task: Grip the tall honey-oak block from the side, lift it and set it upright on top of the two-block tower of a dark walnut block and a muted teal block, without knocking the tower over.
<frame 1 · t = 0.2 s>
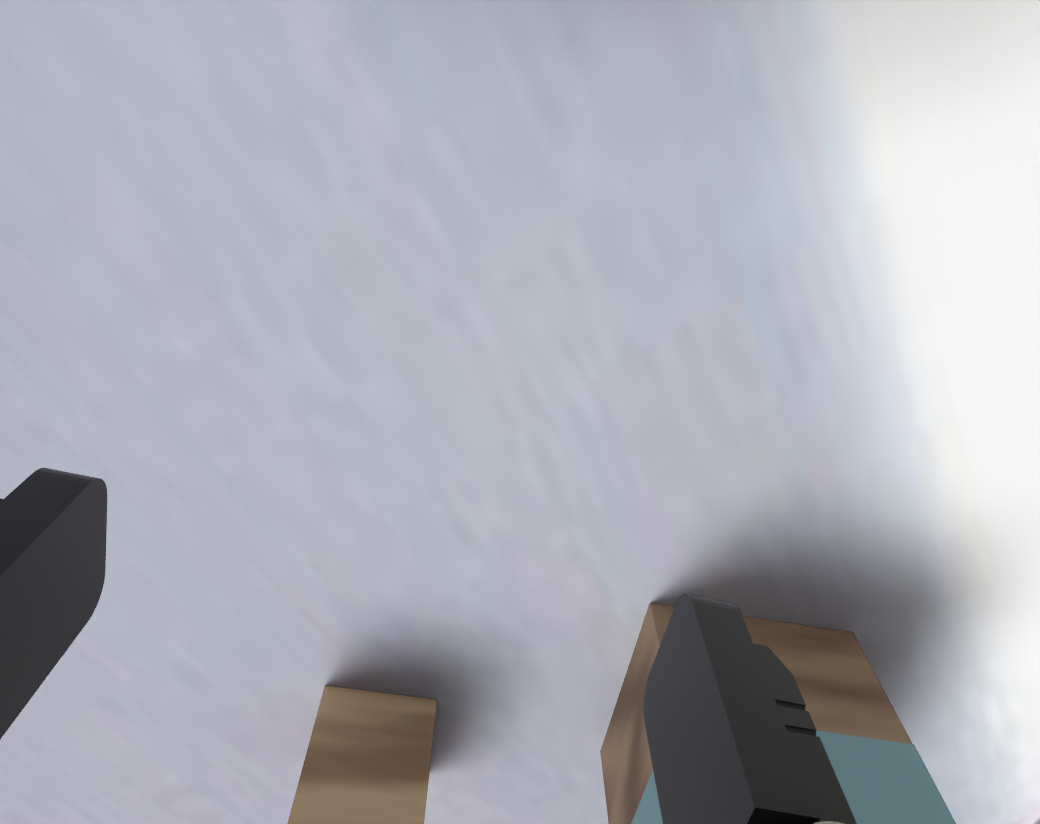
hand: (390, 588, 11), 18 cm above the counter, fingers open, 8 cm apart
teal top block: (756, 809, 31), point 6 cm above the counter, touching walnut base block
walnut base block: (720, 692, 37), on the counter, touching teal top block
oak block: (375, 732, 38), on the counter
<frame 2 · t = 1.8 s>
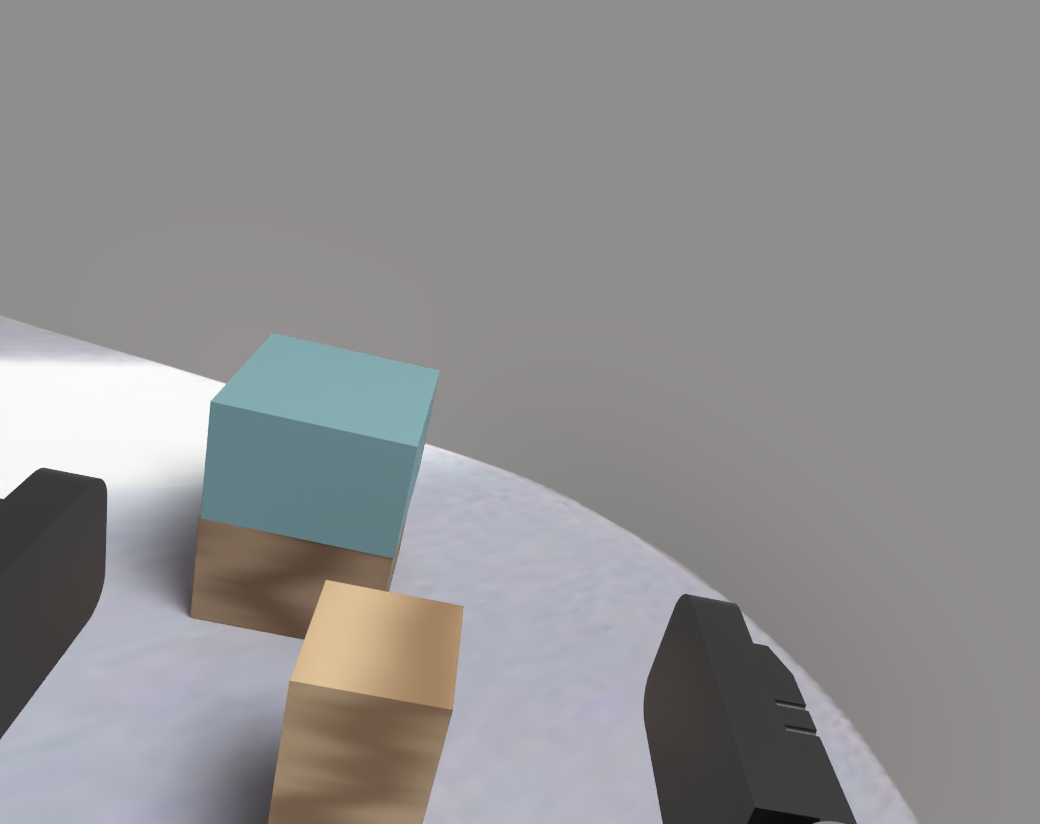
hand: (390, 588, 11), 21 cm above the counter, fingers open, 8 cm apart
teal top block: (321, 489, 42), point 6 cm above the counter, touching walnut base block
walnut base block: (305, 582, 44), on the counter, touching teal top block
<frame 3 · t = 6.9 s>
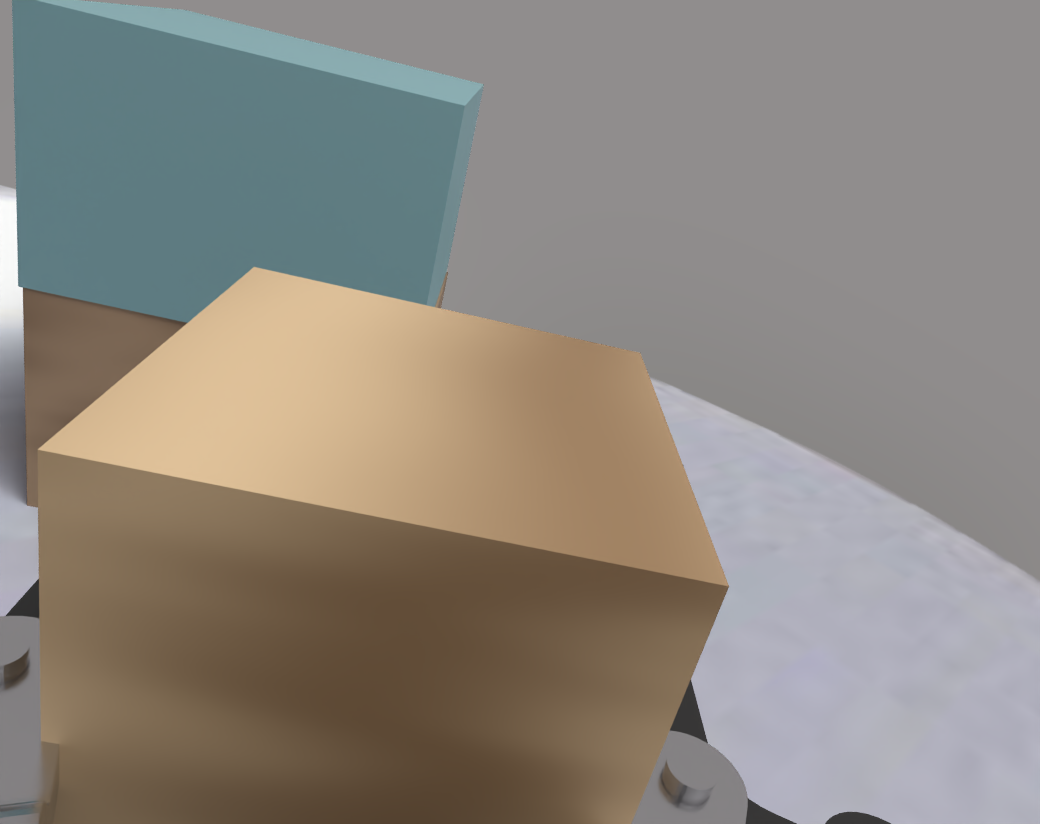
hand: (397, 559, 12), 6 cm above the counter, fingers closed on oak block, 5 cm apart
teal top block: (274, 278, 23), point 6 cm above the counter
walnut base block: (256, 462, 25), on the counter
when the fingers open (19 cm above the counter, at t = 13.1 s): oak block stays where it is, resting on teal top block.
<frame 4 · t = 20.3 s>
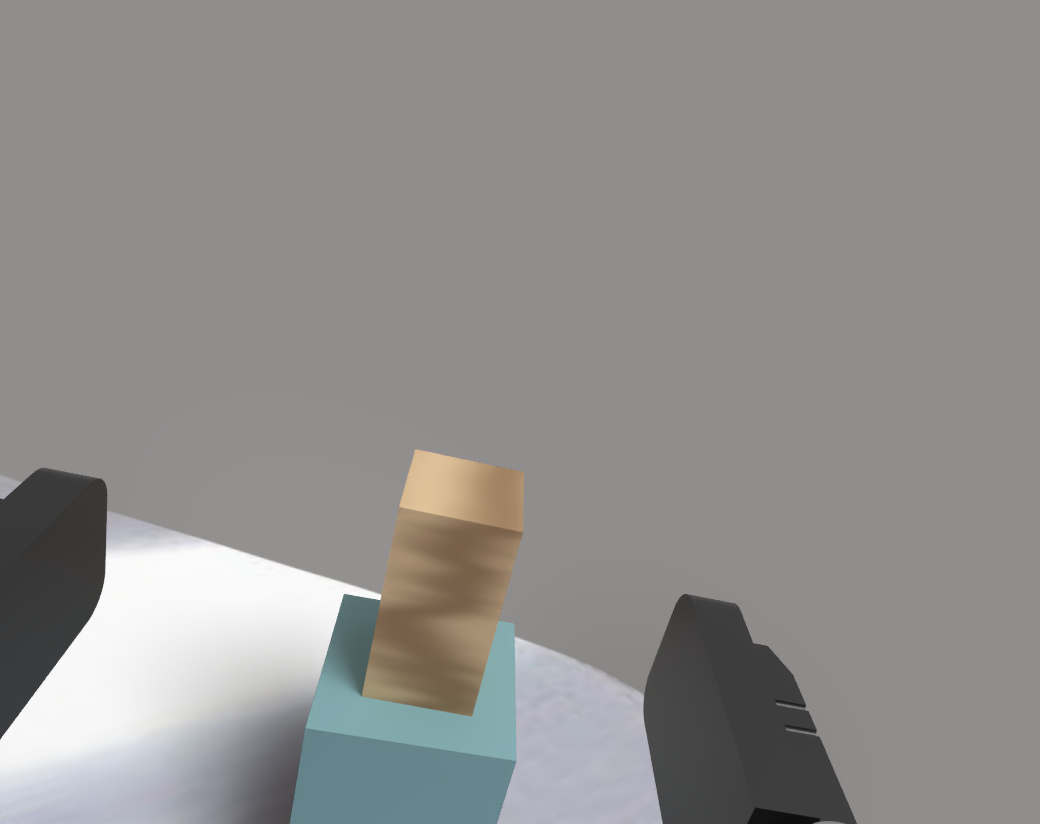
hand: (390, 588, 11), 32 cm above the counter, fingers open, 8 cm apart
teal top block: (401, 760, 41), point 6 cm above the counter, touching oak block, walnut base block
oak block: (423, 667, 39), point 12 cm above the counter, touching teal top block
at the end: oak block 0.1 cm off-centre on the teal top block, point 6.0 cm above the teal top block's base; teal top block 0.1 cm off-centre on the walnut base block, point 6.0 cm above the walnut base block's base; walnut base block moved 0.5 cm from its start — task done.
